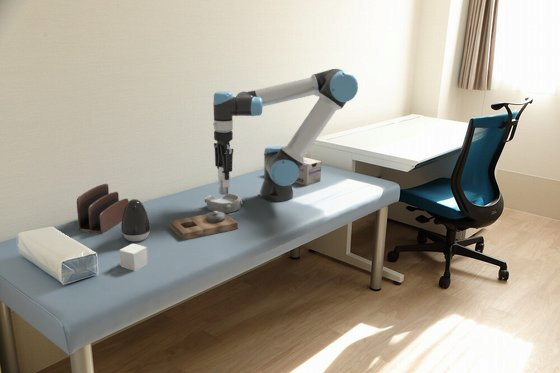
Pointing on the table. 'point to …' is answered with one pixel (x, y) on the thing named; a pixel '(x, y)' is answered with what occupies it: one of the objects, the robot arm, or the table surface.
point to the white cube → (133, 256)
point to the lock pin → (222, 190)
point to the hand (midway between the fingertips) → (223, 185)
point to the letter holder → (99, 210)
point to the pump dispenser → (135, 221)
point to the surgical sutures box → (309, 172)
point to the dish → (224, 203)
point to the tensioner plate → (203, 225)
